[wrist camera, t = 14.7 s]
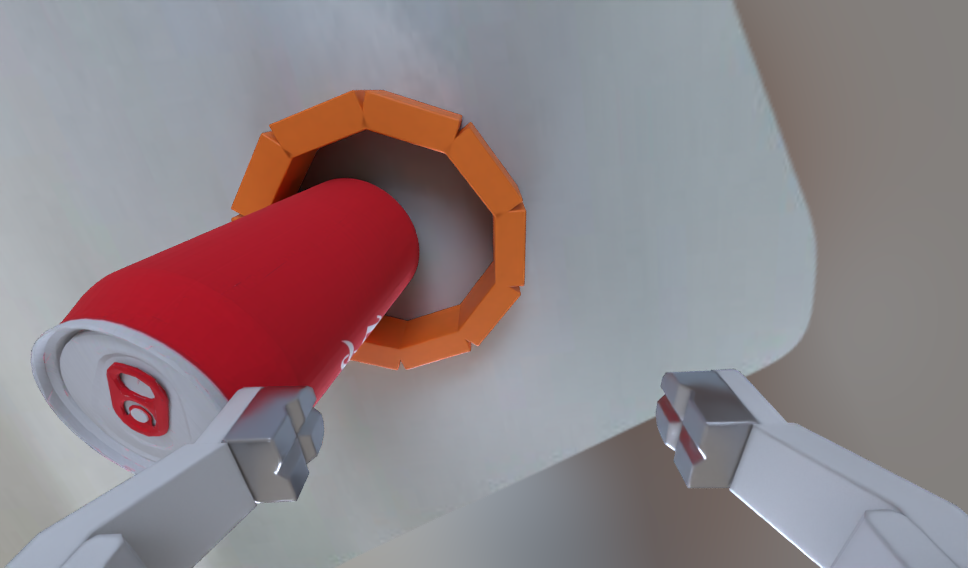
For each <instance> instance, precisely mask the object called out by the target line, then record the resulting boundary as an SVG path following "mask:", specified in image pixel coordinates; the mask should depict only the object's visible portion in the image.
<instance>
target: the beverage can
mask: <svg viewBox="0 0 968 568" xmlns="http://www.w3.org/2000/svg"><path fill="white" fill-rule="evenodd" d="M418 261H419V243H418V238H417V234H416V230H415V228H414V225H413V223H412V221H411V219H410V218H409V216H408V214H407V213H406V211H405V210H404V209H403V208H402V206H401V205H400V204H399V203H398V202H397V201H396V200H395V199H394V198H393V197H392V196H391V195H389V194H388V193H387V192H385V191H384V190H382V189H381V188H379V187H377V186H375V185H373V184H371V183H368V182H366V181H363V180H358V179H353V178H337V179H332V180H328V181H326V182H323V183H321V184H318V185H316V186H314V187H311V188H309V189H307V190H304V191H302V192H300V193H297V194H295V195H293V196H290V197H288V198H286V199H283V200H281V201H279V202H276V203H274V204H272V205H269V206H267V207H265V208H262V209H260V210H258V211H255V212H253V213H251V214H248V215H246V216H244V217H241V218H239V219H237V220H234V221H232V222H230V223H227V224H225V225H223V226H220V227H218V228H216V229H213V230H211V231H209V232H206V233H204V234H202V235H199V236H197V237H195V238H192V239H190V240H188V241H185V242H183V243H181V244H178V245H176V246H174V247H171V248H169V249H167V250H164V251H162V252H160V253H157V254H155V255H153V256H151V257H148V258H146V259H144V260H141V261H139V262H137V263H134V264H132V265H130V266H127V267H125V268H123V269H120V270H118V271H116V272H113V273H111V274H109V275H107V276H106V277H104V278H103V279H101V280H100V281H98V282H97V283H96V284H95V285H94V286H92V287H91V288H90V289H89V290H88V291H87V292H86V293H85V294H84V295H83V296H82V297H81V298H80V300H79V301H78V302H77V303H76V305H75V306H74V307H73V309H72V310H71V311H70V312H69V314H68V315H67V316H66V317H65V319H64V320H63V321H62V322H61V323H60V324H59V325H57V326H55V327H53V328H51V329H49V330H47V331H46V332H44V333H43V334H42V335H41V336H40V337H39V338H38V339H37V340H36V342H35V343H34V346H33V348H32V350H31V366H32V372H33V376H34V379H35V381H36V383H37V385H38V388H39V390H40V391H41V393H42V395H43V397H44V398H45V400H46V401H47V403H48V404H49V406H50V408H51V409H52V410H53V411H54V413H55V414H56V415H57V416H58V417H59V419H60V420H61V421H62V422H63V423H64V424H65V425H66V426H67V427H68V428H69V429H70V430H71V431H72V432H73V433H74V434H76V435H77V436H78V437H79V438H80V439H82V440H83V441H84V442H85V443H86V444H88V445H89V446H90V447H91V448H92V449H94V450H95V451H97V452H98V453H99V454H101V455H102V456H104V457H105V458H107V459H109V460H110V461H112V462H114V463H115V464H117V465H119V466H121V467H122V468H124V469H126V470H128V471H129V472H132V473H134V474H138V473H139V472H141V471H143V470H144V469H146V468H148V467H149V466H151V465H153V464H154V463H156V462H158V461H159V460H161V459H163V458H164V457H166V456H168V455H169V454H171V453H173V452H174V451H176V450H178V449H179V448H181V447H182V446H184V445H186V444H194V443H195V442H196V441H197V439H198V438H199V437H200V436H201V434H202V433H203V432H204V431H205V430H206V428H207V427H208V426H209V425H210V423H211V422H212V421H213V420H214V419H215V417H216V416H217V415H218V414H219V412H220V411H221V410H222V409H223V408H224V406H225V405H226V404H227V403H228V401H229V400H230V399H231V398H232V397H233V395H234V394H235V393H236V392H237V391H238V390H239V389H242V388H244V387H266V386H309V387H312V388H313V390H314V393H315V396H316V401H315V403H314V405H313V407H314V406H315V405H316V404H317V402H318V401H319V400H320V398H321V397H322V396H323V394H324V393H325V392H326V390H327V389H328V388H329V387H330V385H331V384H332V383H333V381H334V380H335V379H336V377H337V376H338V375H339V373H340V372H341V371H342V370H343V368H344V367H345V366H346V364H347V363H348V362H349V360H350V359H351V358H352V356H353V355H354V354H355V353H356V351H357V350H358V349H359V347H360V346H361V345H362V343H363V342H364V341H365V339H366V338H367V337H368V336H369V334H370V333H371V332H372V330H373V329H374V328H375V326H376V325H377V324H378V322H379V321H380V320H381V319H382V317H383V316H384V315H385V313H386V312H387V311H388V309H389V308H390V307H391V305H392V304H393V303H394V302H395V300H396V299H397V298H398V296H399V295H400V294H401V292H402V291H403V290H404V288H405V287H406V286H407V285H408V283H409V282H410V281H411V279H412V278H413V276H414V274H415V272H416V269H417V266H418Z"/></svg>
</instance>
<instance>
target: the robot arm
mask: <svg viewBox="0 0 968 568" xmlns="http://www.w3.org/2000/svg"><path fill="white" fill-rule="evenodd" d="M661 388H662V389H663V391H664V393H665V395H664V396H663V397H662V398H661V399H660V400H658V402H657V408H656V420H657V426H658V429H659V433H660V435H661V437H662V439H663V441H664V443H665V444H666V445H667V446H669V447H670V448H672V449H673V450H674V451H676V452H675V457H674V463H675V465H676V466H677V468H678V470H679V472H680V474H681V476H682V478H683V480H684V482H685V484H686V485H687V487H688V488H730V491H731V492H732V493H733V494H734V495H736V496H737V497H738V498H739V499H741V500H742V501H743V502H744V503H745V504H746V505H747V506H749V507H750V508H751V509H752V510H754V511H755V512H756V513H757V514H758V515H759V516H761V517H762V518H763V519H764V520H765V521H766V522H768V523H769V524H770V525H771V526H772V527H774V528H775V529H776V530H777V531H778V532H779V533H781V534H782V535H783V536H784V537H785V538H787V539H788V540H789V541H790V542H791V543H792V544H794V545H795V546H796V547H797V548H799V549H800V550H801V551H802V552H803V553H804V554H806V555H807V556H808V557H809V558H810V559H811V560H813V561H814V562H815V563H816V564H817V565H819V566H820V567H821V568H968V515H967V514H966V513H965V512H963V511H962V510H961V509H960V508H959V507H958V506H957V505H955V504H953V503H950V502H949V501H947V500H945V499H943V498H941V497H939V496H937V495H935V494H933V493H931V492H929V491H927V490H926V489H923V488H922V487H920V486H918V485H916V484H914V483H912V482H910V481H908V480H906V479H904V478H902V477H900V476H898V475H896V474H894V473H892V472H890V471H889V470H887V469H885V468H883V467H881V466H879V465H877V464H875V463H873V462H871V461H869V460H867V459H865V458H863V457H861V456H859V455H857V454H855V453H853V452H851V451H850V450H847V449H846V448H844V447H842V446H840V445H838V444H836V443H834V442H832V441H830V440H828V439H826V438H824V437H822V436H820V435H818V434H816V433H814V432H813V431H811V430H809V429H806V428H805V427H802V426H801V425H799V424H797V423H787V422H786V420H785V419H784V418H783V417H782V416H781V415H780V414H779V413H778V412H777V411H776V410H775V409H774V408H773V406H772V405H771V404H770V403H769V402H768V401H767V400H766V399H765V398H764V397H763V396H762V395H761V394H760V392H759V391H758V390H757V389H756V388H755V387H754V386H753V385H752V384H751V383H750V382H749V381H748V379H747V378H746V377H745V376H744V375H743V374H742V373H741V372H740V371H738V370H736V369H721V370H711V371H689V372H667V373H665V375H664V376H663V378H662V383H661ZM315 401H316V396H315V393H314V390H313V388H312V387H309V386H266V387H244V388H242V389H239V390H238V391H237V392H236V393H235V394H234V395H233V397H232V398H231V399H230V400H229V401H228V403H227V404H226V405H225V406H224V408H223V409H222V410H221V411H220V412H219V414H218V415H217V416H216V417H215V419H214V420H213V421H212V422H211V423H210V425H209V426H208V427H207V428H206V430H205V431H204V432H203V433H202V434H201V436H200V437H199V438H198V439H197V441H196V442H195V443H194V444H186V445H184V446H182V447H181V448H179V449H178V450H176V451H174V452H173V453H171V454H169V455H168V456H166V457H164V458H163V459H161V460H159V461H158V462H156V463H154V464H153V465H151V466H149V467H148V468H146V469H144V470H143V471H141V472H139V473H138V474H136V475H134V476H133V477H131V478H129V479H128V480H126V481H124V482H123V483H121V484H119V485H118V486H116V487H115V488H113V489H111V490H110V491H108V492H106V493H105V494H103V495H101V496H100V497H98V498H96V499H95V500H93V501H91V502H90V503H88V504H86V505H85V506H83V507H81V508H80V509H78V510H76V511H75V512H73V513H71V514H70V515H68V516H66V517H65V518H63V519H61V520H60V521H58V522H57V523H55V524H53V525H52V526H50V527H48V528H47V529H45V530H43V531H42V532H40V533H38V534H37V535H36V536H35V537H34V538H33V539H32V540H31V541H30V542H29V543H28V544H27V545H26V546H25V547H24V548H23V549H22V550H21V551H20V552H19V553H18V554H17V555H16V556H15V557H14V558H13V559H12V560H11V561H10V562H9V563H8V564H7V565H6V566H5V567H4V568H193V567H194V566H195V565H196V564H197V563H198V562H199V561H200V560H201V559H202V558H203V557H204V556H205V555H206V554H207V553H208V552H209V551H210V550H211V549H212V548H214V547H215V546H216V545H217V544H218V543H219V542H220V541H221V540H222V539H223V538H224V537H225V536H226V535H227V534H228V533H229V532H230V531H231V530H232V529H233V528H234V527H235V526H236V525H237V524H238V523H239V522H240V521H242V520H243V519H244V518H245V517H246V516H247V515H248V514H249V513H250V512H251V511H252V510H253V509H254V508H255V507H256V506H257V505H256V503H272V502H289V501H297V499H298V497H299V495H300V493H301V490H302V488H303V486H304V484H305V482H306V479H307V477H308V475H309V470H308V468H307V465H306V464H308V463H309V462H310V461H311V460H312V459H314V458H315V457H316V456H317V455H318V453H319V450H320V448H321V446H322V441H323V436H324V421H323V418H322V415H321V413H320V412H319V411H317V410H316V409H315V408H314V407H313V405H314V403H315Z"/></svg>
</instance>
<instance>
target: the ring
mask: <svg viewBox="0 0 968 568" xmlns="http://www.w3.org/2000/svg"><path fill="white" fill-rule="evenodd" d="M461 121H462V115H460V114H457V113H453V112H450V111H447V110H444V109H441V108H438V107H435V106H432V105H428V104H425V103H422V102H419V101H416V100H413V99H410V98H407V97H403V96H400V95H397V94H394V93H391V92H388V91H385V90H352V91H350V92H347V93H345V94H342V95H340V96H338V97H335V98H333V99H330V100H328V101H326V102H323V103H321V104H318V105H316V106H314V107H311V108H309V109H306V110H304V111H301V112H299V113H297V114H294V115H292V116H289V117H287V118H285V119H282V120H280V121H277V122H275V123H273V124H270V125H269V127H270V128H271V130H272V131H270V132H265V133H262V134H261V136H260V138H259V141H258V143H257V145H256V148H255V150H254V153H253V155H252V158H251V160H250V163H249V165H248V168H247V170H246V172H245V175H244V177H243V180H242V182H241V185H240V187H239V190H238V192H237V195H236V197H235V200H234V202H233V204H232V207H231V209H232V210H234V211H236V212H238V213H240V214H239V215H237V216H235V217H233V218H232V219H231V221H234V220H237V219H239V218H241V217H244V216H246V215H248V214H251V213H253V212H255V211H258V210H260V209H262V208H265V207H267V206H269V205H272V204H274V203H276V202H279V201H281V200H283V199H286V198H288V197H290V196H293V195H295V194H297V192H298V190H299V188H300V186H301V184H302V182H303V179H304V177H305V175H306V173H307V171H308V169H309V167H310V165H311V163H312V160H313V158H314V156H315V154H316V152H317V150H318V149H319V148H322V147H324V146H327V145H330V144H332V143H335V142H337V141H340V140H342V139H345V138H347V137H350V136H352V135H355V134H357V133H360V132H362V131H365V130H369V131H372V132H376V133H379V134H382V135H386V136H389V137H392V138H395V139H399V140H402V141H405V142H409V143H412V144H415V145H418V146H422V147H425V148H428V149H432V150H435V151H438V152H441V153H445V154H446V155H447V156H448V157H449V159H450V160H451V161H452V163H453V164H454V165H455V166H456V168H457V169H458V170H459V172H460V173H461V174H462V175H463V177H464V178H465V179H466V181H467V182H468V183H469V184H470V186H471V187H472V188H473V190H474V191H475V192H476V193H477V195H478V196H479V197H480V199H481V200H482V201H483V202H484V204H485V205H486V206H487V208H488V209H489V210H490V211H491V213H492V214H493V262H492V263H491V264H490V266H489V267H488V268H487V270H486V271H485V272H484V273H483V275H482V276H481V277H480V279H479V280H478V281H477V283H476V284H475V285H474V287H473V288H472V289H471V291H470V292H469V293H468V295H467V296H466V297H465V299H464V300H463V301H462V303H461V304H460V305H456V306H453V307H450V308H447V309H444V310H441V311H437V312H434V313H431V314H428V315H425V316H421V317H418V318H415V319H412V320H409V321H406V320H402V319H398V318H394V317H390V316H386V315H384V316H383V317H382V319H381V320H380V321H379V322H378V324H377V325H376V326H375V328H374V329H373V330H372V332H371V333H370V334H369V336H368V337H367V338H366V339H365V341H364V342H363V343H362V345H361V346H360V347H359V349H358V350H357V351H356V353H355V354H354V355H353V356H352V358H351V359H350V360H353V361H357V362H362V363H366V364H371V365H375V366H380V367H384V368H389V369H393V370H398V368H399V365H400V361H401V362H402V364H403V365H404V367H405V369H406V370H408V369H412V368H415V367H418V366H422V365H425V364H429V363H432V362H435V361H439V360H442V359H445V358H449V357H452V356H456V355H459V354H462V353H466V352H469V351H471V343H473V344H475V345H476V346H479V345H480V344H481V342H482V341H483V340H484V339H485V337H486V336H487V335H488V334H489V333H490V331H491V330H492V329H493V328H494V327H495V325H496V324H497V323H498V322H499V320H500V319H501V318H502V317H503V316H504V314H505V313H506V312H507V311H508V310H509V308H510V307H511V306H512V305H513V304H514V302H515V301H516V300H517V299H518V297H519V296H520V295H521V292H520V287H519V286H524V284H525V243H526V210H525V207H524V205H523V202H522V201H523V199H522V196H521V194H520V191H519V189H518V186H517V184H516V183H515V182H514V180H513V179H512V177H511V176H510V175H509V173H508V172H507V171H506V169H505V168H504V166H503V165H502V164H501V162H500V161H499V159H498V158H497V157H496V155H495V154H494V153H493V151H492V150H491V148H490V147H489V146H488V144H487V143H486V142H485V140H484V139H483V137H482V136H481V135H480V133H479V132H478V130H477V129H476V128H475V126H474V125H473V124H472V122H470V123H469V124H467V125H466V126H465V127H464V128H463V129H461V130H460V131H459V129H460V125H461Z"/></svg>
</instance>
